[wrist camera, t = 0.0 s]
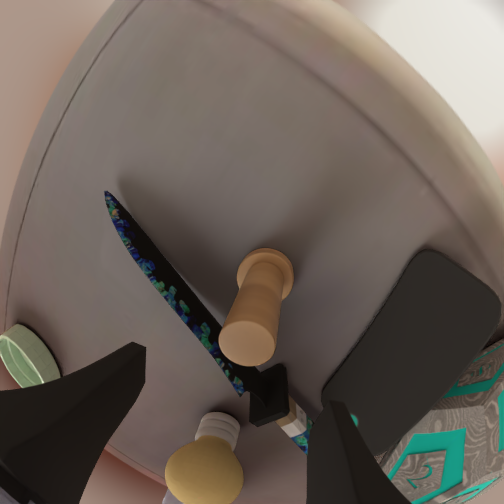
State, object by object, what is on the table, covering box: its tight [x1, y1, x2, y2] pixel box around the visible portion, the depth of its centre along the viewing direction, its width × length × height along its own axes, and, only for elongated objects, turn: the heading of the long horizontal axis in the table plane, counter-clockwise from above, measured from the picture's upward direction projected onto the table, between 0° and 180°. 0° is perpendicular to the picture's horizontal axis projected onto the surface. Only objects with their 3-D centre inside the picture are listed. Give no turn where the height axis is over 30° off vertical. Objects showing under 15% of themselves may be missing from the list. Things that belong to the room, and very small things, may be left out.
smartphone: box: [321, 249, 502, 456], centre depth 16 cm, size 8×1×15 cm
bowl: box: [0, 324, 61, 388], centre depth 26 cm, size 10×10×4 cm
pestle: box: [219, 248, 294, 366], centre depth 15 cm, size 4×4×8 cm
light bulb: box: [165, 412, 244, 504], centre depth 20 cm, size 6×6×10 cm
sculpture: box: [379, 338, 504, 504], centre depth 15 cm, size 13×14×30 cm
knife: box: [104, 191, 314, 455], centre depth 19 cm, size 31×3×4 cm, turn 36°
